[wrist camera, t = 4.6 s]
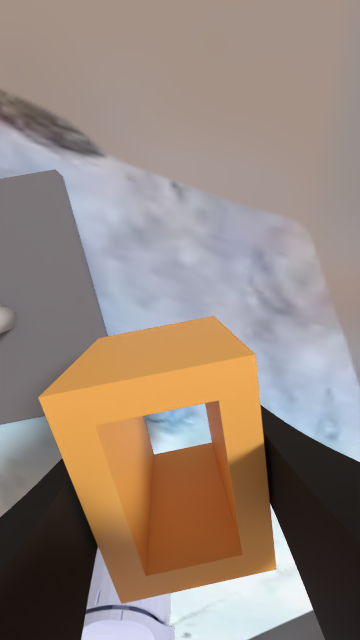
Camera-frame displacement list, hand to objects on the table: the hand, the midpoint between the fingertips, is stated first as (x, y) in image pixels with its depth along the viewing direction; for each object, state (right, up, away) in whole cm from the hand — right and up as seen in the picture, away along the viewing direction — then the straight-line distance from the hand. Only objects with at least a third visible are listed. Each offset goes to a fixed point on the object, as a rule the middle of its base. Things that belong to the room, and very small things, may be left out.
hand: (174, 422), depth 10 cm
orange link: (0, 0, +1) cm, 2 cm away
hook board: (-13, +5, +6) cm, 16 cm away
